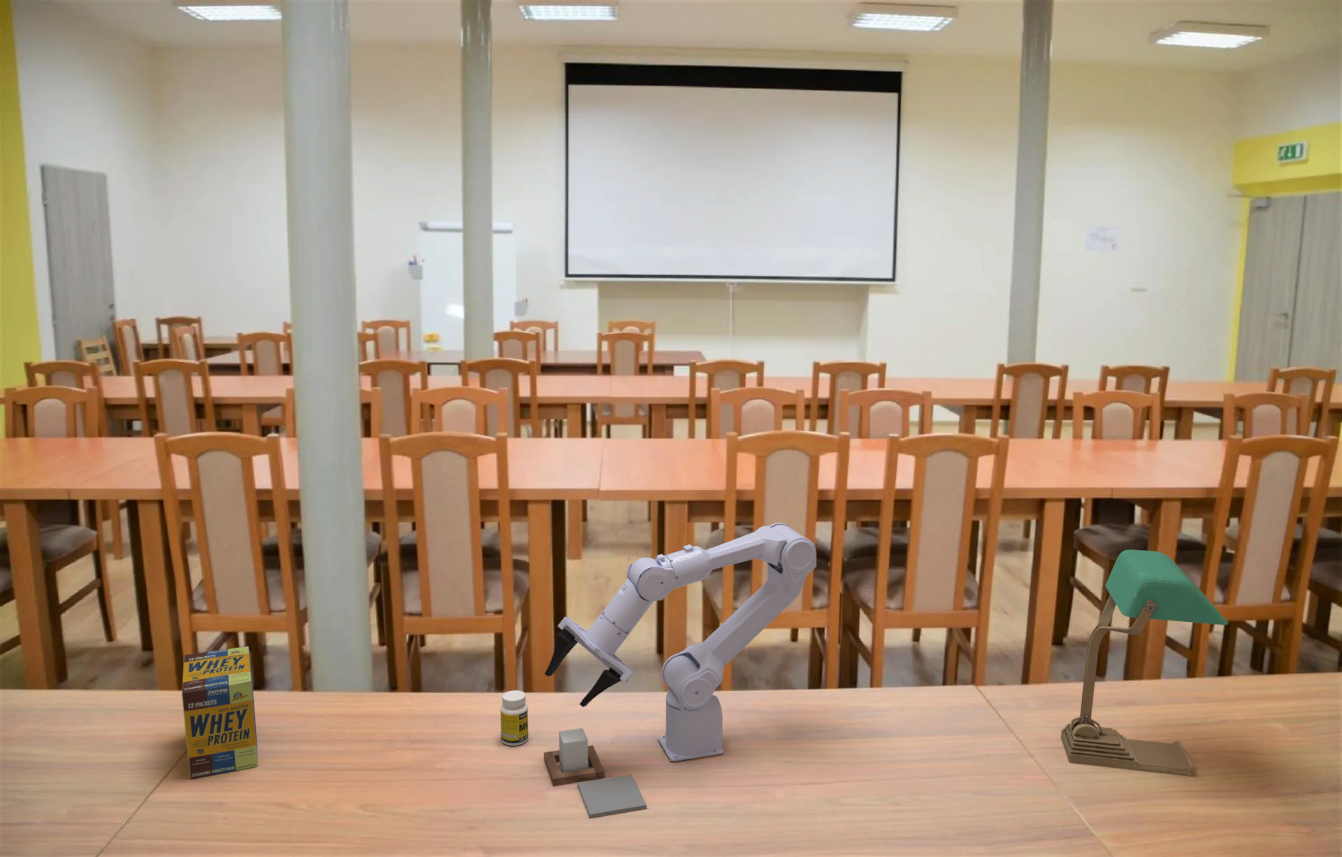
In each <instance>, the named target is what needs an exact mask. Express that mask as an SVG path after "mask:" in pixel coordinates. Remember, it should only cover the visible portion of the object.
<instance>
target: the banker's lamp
mask: <svg viewBox="0 0 1342 857" xmlns="http://www.w3.org/2000/svg"><path fill="white" fill-rule="evenodd" d="M1105 588H1106V590H1107V592H1108V593H1109V597H1108V599H1107V600H1106V603H1105V605H1104V608H1103V611H1102V613H1101V616H1100V618H1099V621H1098V622H1097V624H1096V625H1095V627H1094V629H1093V630H1092V631H1091V634H1090V635H1089V637H1088V638H1089V639H1088V641H1087V646H1086V655H1085V656H1086V657H1085V664H1084V665H1085V666H1084V674H1083V684H1082V693H1081V694H1082V695H1081V703H1080V714H1079V716H1078V717H1074V718H1072V719H1071V721H1070V723H1067V724H1066V726H1064V728H1063V729H1061V733H1060V739H1061V742H1062V745H1063V748H1064V752H1065V754H1066V757H1067V760H1068V763H1070V764H1077V765H1078V764H1079V765H1089V766H1096V767H1104V768H1105V767H1106V768H1113V769H1125V770H1132V771H1133V770H1134V771H1142V772H1143V771H1144V772H1149V773H1150V772H1151V773H1161V774H1169V775H1178V776H1186V777H1187V776H1188V777H1194V773H1195V772H1194V771H1195V765H1194V763H1193V762H1192V760H1191V758H1190V756H1189V755H1188V753H1187V751H1186V750H1185V748H1184V746H1183V744H1182V742H1181V741H1180V740H1176V741H1173V742H1161V741H1151V740H1150V741H1149V740H1144V739H1143V740H1141V739H1132V738H1127V737H1126V736H1124V735H1123V734H1121V733H1120V732H1119V731H1117V729H1114V728H1113V727H1105V726H1101V725H1100V723H1099V722H1097V720H1096V721H1095V720H1094V719H1092V715H1093V713H1092V712H1093V705H1094V696H1095V695H1094V694H1095V687H1096V686H1095V684H1096V675H1097V665H1098V654H1099V649H1100V645H1101V642H1102V640H1103V638H1104V636H1105V635H1106V634H1107V633H1109V632H1117V633H1123V634H1128V635H1131V636H1138V635H1140V634H1141V633H1142V632H1143V630H1144V628H1145V627H1146V625H1147V623H1148V621H1149V620H1158V621H1170V622H1173V621H1174V622H1181V623H1182V622H1183V623H1184V622H1185V623H1195V624H1206V625H1207V624H1208V625H1218V626H1227V625H1228V624H1229V622H1228V620H1226V618H1225V617H1224V616H1223V615H1222V614H1221V612H1220V611H1219V610H1218V609H1217V608H1216V606H1215V605H1214V604H1213V603H1212V601H1210V600H1209V598H1208V597H1207V596H1206V595H1205V594H1204V593H1203V591H1202V590H1200V588H1199V587H1198V586H1197V585H1196V584H1195V583H1194V581H1192V579H1190V577H1189V576H1188V575H1187V574H1186V573H1185V572H1184V571H1183V569H1181V568H1180V567H1179V566H1178V565H1177V563H1176V562H1175V561H1174V560H1173V559H1172V558H1171V557H1169V556H1168V555H1167V554H1165V553H1162V552H1160V551H1155V550H1143V549H1142V550H1139V549H1125V550H1123V551H1122V552H1120V554H1119V555H1118V556H1117V559H1115V563H1114V565H1113V567H1112V569H1111V572H1110V573H1109V577H1108V579H1107V581H1106V583H1105ZM1116 607H1117V608H1118V610H1119V612H1120V614H1121V615H1123V617H1128V618H1133V619H1134V618H1136V619H1135V621H1134V623H1133V624H1132V625H1131V626H1130V627H1120V626H1119V627H1115V626H1109V624H1110V622H1111V619H1112V617H1113V614H1114V612H1115V609H1116Z"/></svg>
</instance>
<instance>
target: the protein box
mask: <svg viewBox="0 0 1342 857" xmlns="http://www.w3.org/2000/svg"><path fill="white" fill-rule="evenodd" d="M249 648H250V647H249V646H248V645H247V646H241V647H233V648H226V649H221V650H220V649H218V650H211V651H205V652H204V651H203V652H197V653H190V654H184V655H183V669H182V684H181V699H182V701H181V702H182V709H183V718H184V719H183V720H184V730H185V731H184V732H185V741H186V750H187V760H188V767H189V768H188V770H189V778H190V780H193V778H194V779H198V778H203V777H209V776H215V775H218V774H219V775H221V774H224V773H230V772H236V771H240V770H245V769H250V768H251V767H252V768H255V767H257V768H258V766H259V758H258V757H259V756H258V738H257V735H258V734H257V726H256V725H257V724H256V711H255V699H254V698H255V697H254V683H253V674H252V665H251V657H250V656H251V655H250V649H249ZM214 774H215V775H214Z"/></svg>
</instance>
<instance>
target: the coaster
mask: <svg viewBox="0 0 1342 857" xmlns="http://www.w3.org/2000/svg"><path fill="white" fill-rule="evenodd" d="M577 788H578V791H579V793H580V796H581V799H582V802H583V803H584V806H585V809H586V811H587V815H588V817H589V819H592V818H597V817H603V816H604V817H605V816H609V815H615V814H616V815H617V814H621V813H628V812H633V811H639V810H645V809H647V807H648V806H647V803H646V800H645V799H644V797H643V795H642V792H641V790H640V789H639V787H638V784H637V782H636V781H635V778H634V776H633V774H627V775H620V776H613V777H607V778H600V779H593V780H587V781H581V782H577Z"/></svg>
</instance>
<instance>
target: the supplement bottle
mask: <svg viewBox="0 0 1342 857" xmlns="http://www.w3.org/2000/svg"><path fill="white" fill-rule="evenodd" d="M501 698H502V701H501V703H502V705H501V707H500V709H499V710H500V741H501V743H503V745H506V746H512V747H516V746H521V745H523V744H525V743H526V742H527V741H528V739H529V711H528V708H529V707H528V704H527V703H526V702H527V699H526V698H527V697H526V693H525V692H524V691H522V690H508V691H506V692H505V693H503V694H502V697H501Z"/></svg>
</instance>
